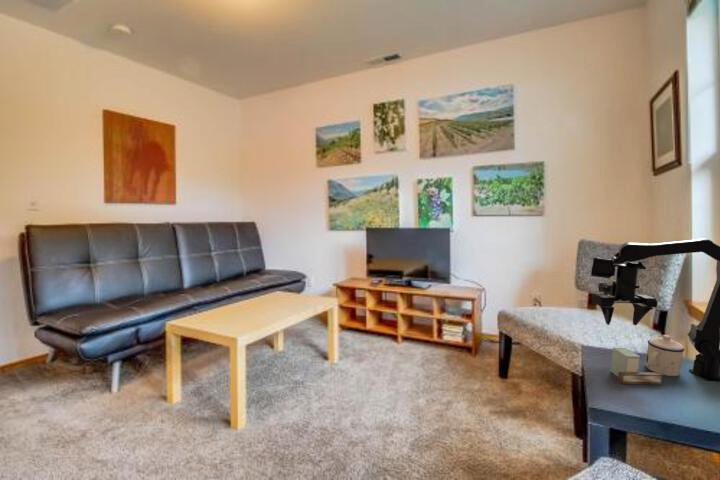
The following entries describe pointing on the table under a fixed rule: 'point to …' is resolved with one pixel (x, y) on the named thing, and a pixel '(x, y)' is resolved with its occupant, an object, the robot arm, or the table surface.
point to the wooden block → (639, 378)
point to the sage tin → (624, 361)
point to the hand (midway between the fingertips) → (621, 324)
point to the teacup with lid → (664, 356)
